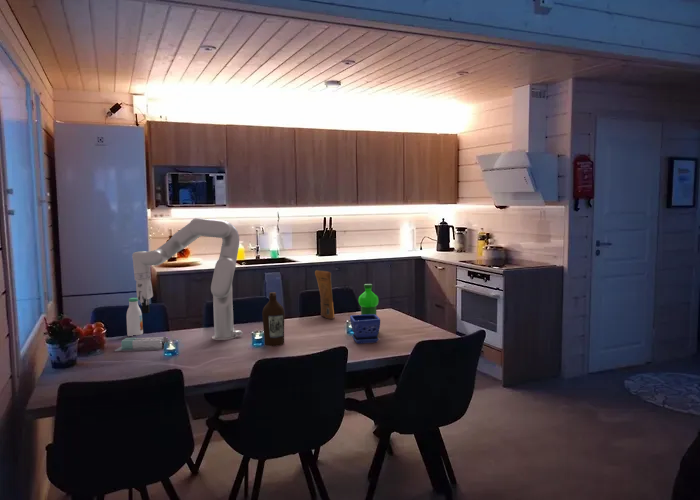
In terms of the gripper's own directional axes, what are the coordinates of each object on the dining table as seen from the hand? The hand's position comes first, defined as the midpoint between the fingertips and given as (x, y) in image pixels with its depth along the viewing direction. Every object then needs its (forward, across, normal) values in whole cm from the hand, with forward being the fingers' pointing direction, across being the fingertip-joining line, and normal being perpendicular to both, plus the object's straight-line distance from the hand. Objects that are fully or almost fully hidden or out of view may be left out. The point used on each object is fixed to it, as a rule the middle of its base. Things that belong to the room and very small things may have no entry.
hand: (146, 312), depth 273 cm
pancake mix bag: (+19, +53, -88) cm, 104 cm away
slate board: (+15, -8, -2) cm, 17 cm away
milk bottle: (+15, +18, +13) cm, 27 cm away
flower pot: (+20, -11, -107) cm, 110 cm away
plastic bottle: (+20, +8, -110) cm, 113 cm away
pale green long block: (+15, -14, -3) cm, 21 cm away
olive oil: (+18, -11, -63) cm, 67 cm away
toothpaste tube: (+14, -11, -2) cm, 18 cm away
